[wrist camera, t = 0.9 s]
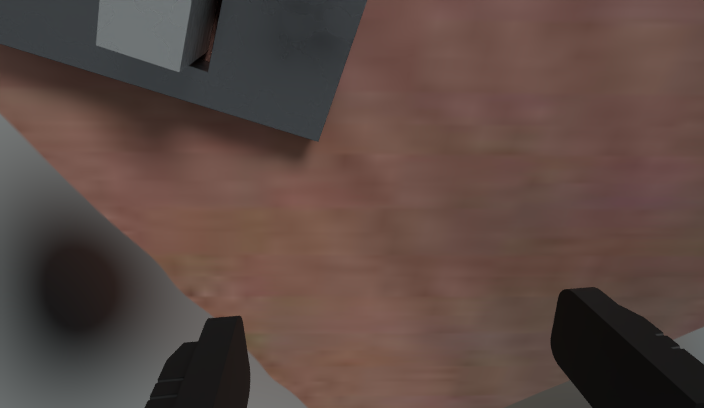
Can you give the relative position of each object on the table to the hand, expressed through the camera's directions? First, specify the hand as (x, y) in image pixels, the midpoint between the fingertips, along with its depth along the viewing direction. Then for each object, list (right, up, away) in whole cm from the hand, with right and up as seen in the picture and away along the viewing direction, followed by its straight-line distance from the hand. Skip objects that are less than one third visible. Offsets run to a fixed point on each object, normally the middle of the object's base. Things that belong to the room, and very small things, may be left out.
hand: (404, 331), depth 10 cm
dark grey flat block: (-13, +16, +17) cm, 26 cm away
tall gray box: (-13, +16, +17) cm, 26 cm away
